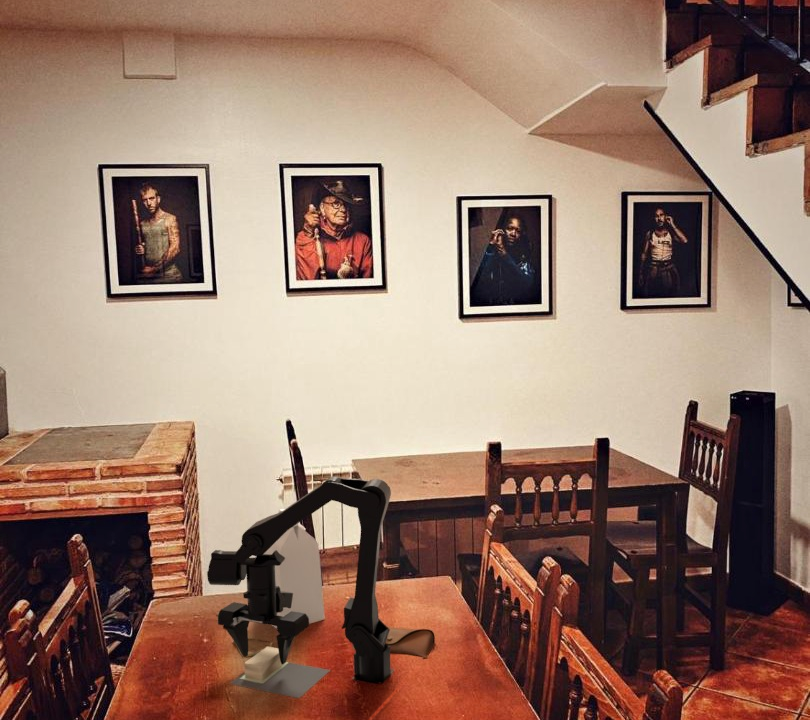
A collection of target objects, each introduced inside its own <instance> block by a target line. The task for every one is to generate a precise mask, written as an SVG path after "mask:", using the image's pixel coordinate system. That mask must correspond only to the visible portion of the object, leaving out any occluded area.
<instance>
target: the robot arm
mask: <svg viewBox="0 0 810 720" xmlns="http://www.w3.org/2000/svg"><path fill="white" fill-rule="evenodd" d="M391 494H392V491H391V487H390V486H389V484H388V483H387V482H385V481H384V480H382V479H379V478H373V479H371V480H367V479H366V480H365V479H361V478H359V479H358V478H344V477H339V476H335V475H334V476H330V477H328V478H327V479H326V480H325V481H324V482H323V483H321V484H320V485H318V486H317V487H315V488H314V489H313V490H310V492H307V494H305V495H304V496H302V497H300V498H299V499H297V501H295V502H293V503H292V504H291V505H289V506H288V507H286V508H284V509H285V510H283V511H282V512H279V511H278V512H277V513H275V514H272V515H269V516H267V517H264V518H262V519H260V520H257V521H255V523H253V524H252V525H251V526H250V527H249V528H247V529H246V530H245V532H243V534H242V535H241V545H240V547H239V548H238V550H235V551H234V550H233V551H231V550H229V551H228V550H221V549H215V550H214V551H212V553H211V552H210V561H209V565H208V569H207V571H206V573H207V575H206V577H207V582H208V584H209V585H211V586H239V585H240V584H241V582H242V581H245V579H246V591H245V592H243V599H245V600H246V599H247V603H242V602H235V601H234V602H232V603H229V604H228V605H226V606H224V607H223V608H221V609H220V610H219V612H218V613H217V624H218V625H219V626H222V628H223V630H226V631H227V633H228V634H229V636H230V637H231V639H232V640H233V643H234V642H235V643H236V644H235V643H234V644H235V646H236V647H237V649H238V648H239V650H240V652H241V654H242V655H243V656H242V655H241V654H240V655H241V656H242V658H243V657H245V658H247V657H246V656H248V638H249V633H248V632H249V630H248V629H249V624H250V623H256V624H263V625H270V626H272V625H274V626H277V629H276V632H277V633H278V634H277V635H276V643H277V644H276V645H277V648H278V650H279V656H280V661H281V664H285V663H286V662H287V660H288V656H289V654H290V651H291V647H292V644H293V642H294V639H295V638H296V637H297V636H299V635H301V633H302V632H303V631H305V630H307V629H308V628H309V627H310V624H309V618H308V616H307V615H306V614H305V613H299V612H293V611H291V612H289V613H288V614H286V615H285V616H284V617H283V616H277V613H278V612H279V613H280V612H282V611H283V608H285V607H287V608H291V605H292V598H293V593H291V592H284V591H280V588H279V586H276V581H275V566H279V565H281V563H282V562H283V561H284V560H285V557H284V556H282V555H281V554H279V553H278V551H277V550H275V551H274V552H273V553H272V554H264V553H265V552H266V551H267V550H268V549H269V548H270V547H271V546H272V545H273V544H274V543H275V542H276V541H277V540H278V539H279V538H280V537H281V536H282V535H283V534H284V533H285V532H286V531H287V530H289V529H290V528H292V527H293V526H295V525H296V524H298V523H299V524H300V522H302V521H303V520H305V519H306V518H308V517H310V516H311V515H312V514H314V513H315V512H316V511H318V510H319V509H320V510H321V508H322V507H324V506H326V505H327V504H329V503H330V502H331V501H334V502H338V503H340V504H343V505H345V506H348V507H351V508H354V509H355V508H356V509H357V517H358V522H359V526H360V535H359V536H360V537H359V547H358V558H357V559H358V560H357V566H356V567H357V569H356V581H355V590H354V591H355V592H354V597H349V598H348V600H347V602H346V604H345V606H344V608H343V618H344V619H343V624H342V626H341V629H342V630H344V635H345V638H346V639H347V641H348V642H350V643H351V644H352V645H353V646H354V648H355V650H354V651H355V652H354V653H353V672H354V676H353V677H352V680H353V681H354V680H355V681H360V682H365V683H370V684H375V685H383V683H385V682H386V680H387V679H388V678H389V677H390V676H391V675H392V674H393V673H394V671H395V669H392V668H391V653H390V646H388V645H386V644H385V643H386V640H387V637H388V634H389V631H390V629H389V628H388V627H389V626H387V625H386V624H385V623H384V622H383V621H382V620H381V619H380V618H379V617H380V616H379V608H378V602H377V601H378V600H377V596H376V588H377V587H376V586H377V577H378V576H377V575H378V568H379V567H378V566H379V555H380V546H381V545H380V544H381V535H382V534H381V533H382V526H383V523H384V519H385V516H386V514H387V513H386V512H387V510H388V506H389V503H390V501H391V500H390V499H391ZM252 556H254V557H252ZM239 650H238V651H239ZM240 652H239V653H240Z"/></svg>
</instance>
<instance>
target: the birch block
mask: <svg viewBox="0 0 810 720" xmlns="http://www.w3.org/2000/svg"><path fill="white" fill-rule="evenodd" d="M281 665H283V664H281V661H280V656H279V650H278V647H273V646H272V647H266V648H264V649H263V650H262V651H260V652H259V653H258V654H256V655H253V656H251V658H250V659H248V660H246V661H245V662H244V672H245V678H250V679H255V680H260V681H263V680H264V679H265V678H266V677H268V676H269V675H270V674H271V673H273V672H274V671H275V670H276V669H278V668H279V667H280V666H281Z"/></svg>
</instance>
